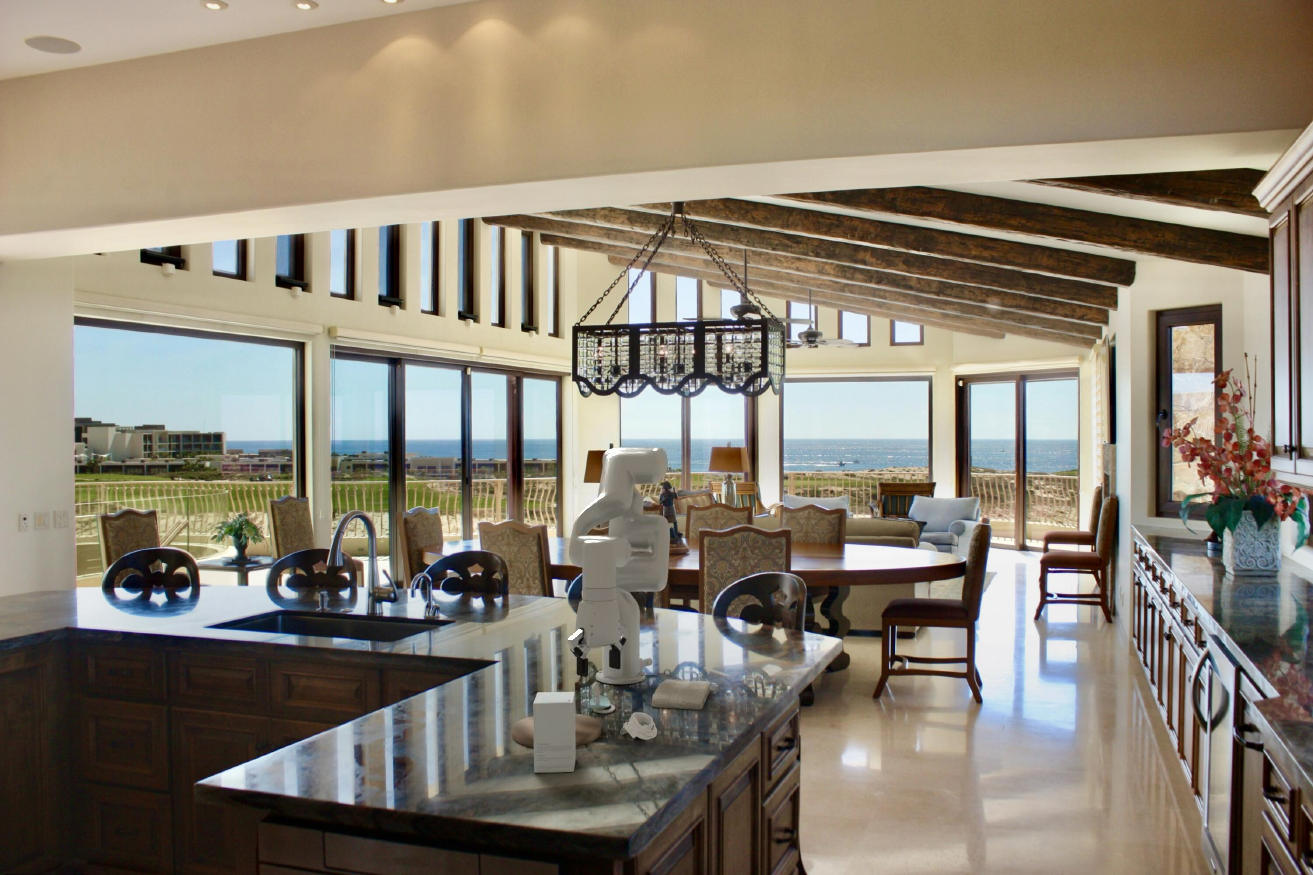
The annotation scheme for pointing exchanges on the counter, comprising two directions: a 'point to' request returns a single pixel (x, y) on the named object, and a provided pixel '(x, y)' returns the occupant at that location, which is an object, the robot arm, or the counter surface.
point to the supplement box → (554, 732)
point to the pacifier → (599, 701)
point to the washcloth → (681, 694)
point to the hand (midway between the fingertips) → (598, 671)
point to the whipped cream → (640, 726)
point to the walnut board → (584, 730)
